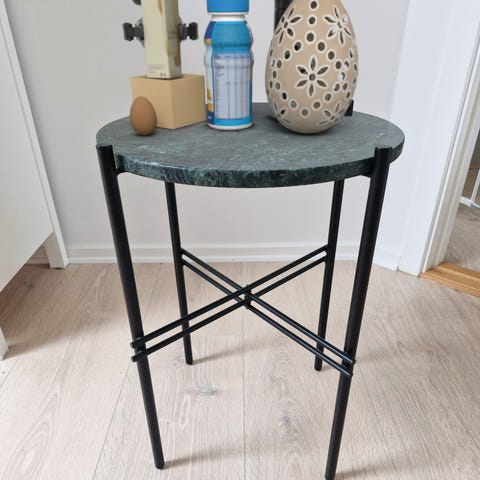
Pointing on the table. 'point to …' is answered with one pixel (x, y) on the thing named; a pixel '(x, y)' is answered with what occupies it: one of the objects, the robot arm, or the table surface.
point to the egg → (143, 116)
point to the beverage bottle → (229, 65)
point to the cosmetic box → (161, 38)
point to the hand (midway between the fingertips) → (161, 32)
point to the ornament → (313, 51)
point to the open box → (173, 98)
